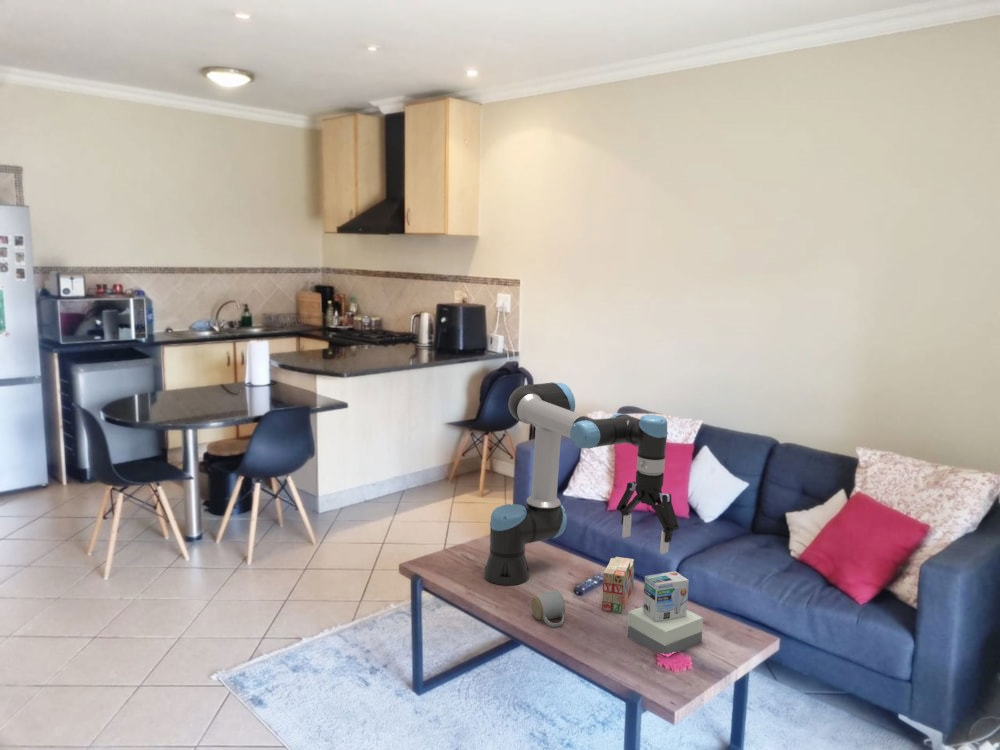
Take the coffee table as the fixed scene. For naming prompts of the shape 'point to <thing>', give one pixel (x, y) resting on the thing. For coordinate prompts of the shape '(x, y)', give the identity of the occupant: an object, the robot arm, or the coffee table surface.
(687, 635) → the tower top slab
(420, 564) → the coffee table surface
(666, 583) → the light bulb box
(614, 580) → the stack of blocks
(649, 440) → the robot arm
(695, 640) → the tower base slab
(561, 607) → the ceramic mug
